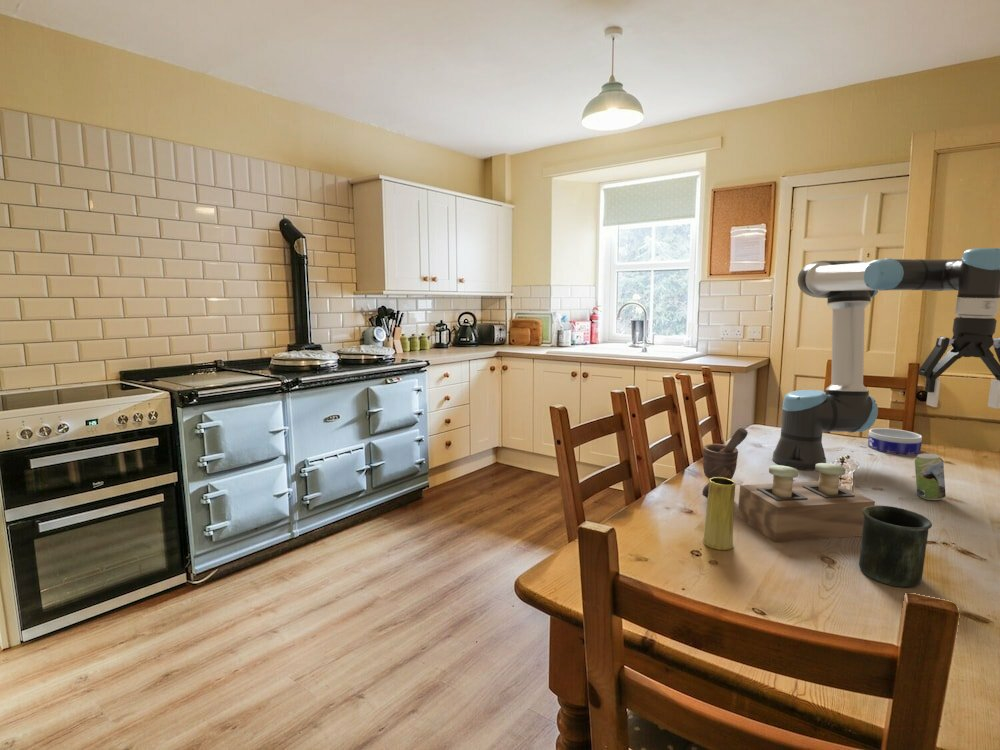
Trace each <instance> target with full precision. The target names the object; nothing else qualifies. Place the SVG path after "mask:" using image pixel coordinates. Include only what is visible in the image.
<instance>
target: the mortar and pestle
mask: <svg viewBox="0 0 1000 750" xmlns="http://www.w3.org/2000/svg"><path fill="white" fill-rule="evenodd" d="M748 434H749V433H748V431H747V430H746V428H743V427H740V428H738V429H737V430H736V431H735V432H734V433H733V435H732V436H731V438H730V440H729V441H728V443H727V444H722V443H709V444H705V445H704V446H703V450H702V452H703V453H702V468H703V473H704V476H705V477H706V478H707V480H709V479H710V478H713V477H723V478H728V479H731V480H733V477H734V475H735V472H736V469H737V465H738V464H737V463H738V456H739V454H738V453H739V450H738V449H737V447H738V446H739V445H740V444H742V442H743V441H744V440H745V439H746V438H747V436H748ZM708 487H709V482H708V483H707V484H706V485H704V487H703V488H702V494H703V495H704V496H705V497H708Z"/></svg>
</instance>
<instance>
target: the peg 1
mask: <svg viewBox="0 0 1000 750" xmlns="http://www.w3.org/2000/svg"><path fill="white" fill-rule="evenodd" d="M799 472H800V471H799V469H797V468H792V467H788V466H783V465H780V464H777V465H776V464H775V465H770V466H769V467H768V473H769V474H771V475H772V476H773V477H772V478H773V479H772V483H773V487H772V495H774V496H776V497H778V498H788V497H791V495H792V484H793V482H794V479H795V478H798V477H799V474H800V473H799Z"/></svg>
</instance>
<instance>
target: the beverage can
mask: <svg viewBox="0 0 1000 750" xmlns="http://www.w3.org/2000/svg"><path fill="white" fill-rule="evenodd" d="M914 467H915V468H914V470H915V483H916V495H917V496H919V497H920V498H921V499H923V500H928V501H940V500H943V499H944V498H945V497H946V494H947V493H946V482H945V481H946V480H945V469H944V468H945V465H944V460H943V459H942V458H941V455H939V454H936V453H928V452H927V453H925V452H923V453H919V454H917V455H916V457H915V458H914Z"/></svg>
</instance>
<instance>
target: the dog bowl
mask: <svg viewBox="0 0 1000 750" xmlns="http://www.w3.org/2000/svg"><path fill="white" fill-rule="evenodd" d="M867 440H868V441H867V442H868V443H867V446H868V448H870V449H872V450H874V451H877V452H881V453H885V454H891V455H900V456H917V455H918V454H921V448H922V443H923V442H922V441H923V436H922V435H921V434H920V433H919V434H918V433H917V432H913V431H908V430H903V429H897V428H895V429H894V428H887V427H885V428H884V427H883V428H882V427H877V428H876V427H875V428H869V429H868V439H867Z"/></svg>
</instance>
